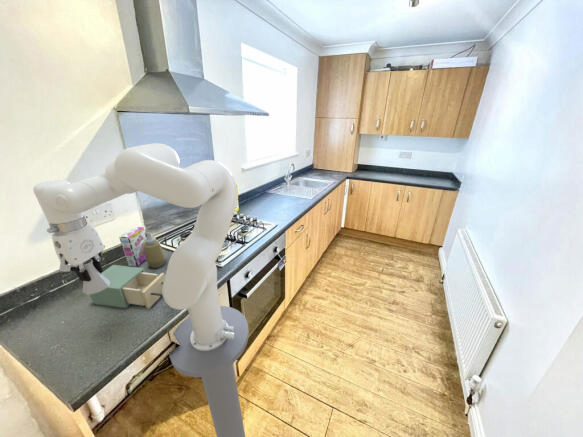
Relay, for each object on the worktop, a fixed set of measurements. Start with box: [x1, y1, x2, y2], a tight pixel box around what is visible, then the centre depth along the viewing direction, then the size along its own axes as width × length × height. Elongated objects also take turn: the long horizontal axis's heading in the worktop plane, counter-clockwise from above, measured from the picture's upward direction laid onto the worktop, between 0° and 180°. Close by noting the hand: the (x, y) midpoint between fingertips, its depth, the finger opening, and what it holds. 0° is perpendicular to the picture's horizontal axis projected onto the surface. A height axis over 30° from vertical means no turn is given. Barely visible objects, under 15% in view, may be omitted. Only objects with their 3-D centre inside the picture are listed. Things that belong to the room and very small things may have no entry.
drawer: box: [121, 272, 166, 309], centre depth 92 cm, size 20×11×8 cm, turn 81°
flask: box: [82, 259, 110, 296], centre depth 73 cm, size 7×7×10 cm
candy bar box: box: [118, 226, 147, 268], centre depth 115 cm, size 11×5×16 cm, turn 177°
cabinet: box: [89, 264, 146, 309], centre depth 94 cm, size 15×13×10 cm
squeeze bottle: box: [144, 231, 166, 269], centre depth 111 cm, size 8×8×18 cm
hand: (92, 275), depth 74 cm, fingers closed on flask, 3 cm apart
